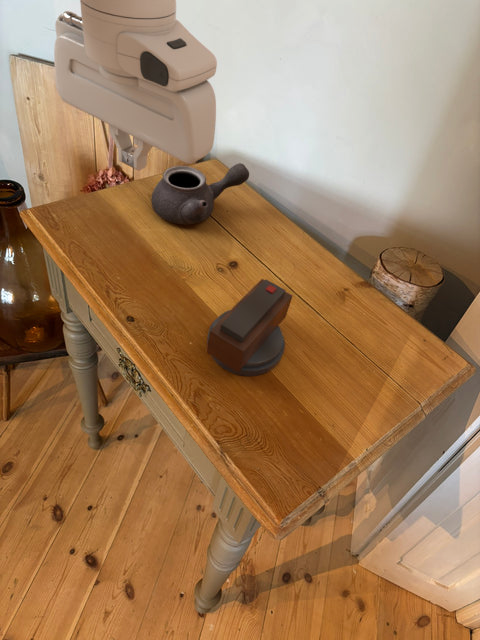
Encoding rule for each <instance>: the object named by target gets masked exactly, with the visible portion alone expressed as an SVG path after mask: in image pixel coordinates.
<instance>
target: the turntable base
mask: <svg viewBox="0 0 480 640" xmlns="http://www.w3.org/2000/svg"><path fill="white" fill-rule="evenodd" d="M215 321H216V319H214V320H213V322H212V323H211V325H210V326H209V329H208V333H207V339H206V344H207V345H206V346H208V340H209V334H210V330H211V329H212V328H213V325H214V322H215ZM282 335H283V344H282V348H281V351H280V353H279V354H278V356H277V357H276V358H275V359H274V360H273V361H271V362H270V363H268V364H265V365H262V366H258V367H245V366H243V367H242V369H241V370H240V371H239V372H236V371H235V370H233V369H232V368H230V367H229V366H227V365H225V364H224V363H222V362H221V361H219V360H218V359H216V358H214V357H213V356H211V358H212V359H213V361H214V362H215V363H216V364H217V365H218V366H219V367H220V368H222V369H223V370H225V371H227V372H229V373H232V374H235V375H239V376H242V377H243V376H244V377H256V376H261V375H264V374H267V373H269V372H271V371H273V370H274V369H275V368H276V367H277V366H278V365H279V363H280V362H281V360H282V358H283V356H284V352H285V347H286V346H285V345H286V343H285V337H284V334H283V333H282Z"/></svg>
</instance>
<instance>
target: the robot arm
mask: <svg viewBox="0 0 480 640" xmlns="http://www.w3.org/2000/svg"><path fill="white" fill-rule="evenodd" d="M79 3H80V15H81V16H79V15H78V14H76V13H75V12H72V11H69V10H65V11H64V12H63V13H61V14H60V15H59V16H58V17H57V19H56V20H55V23H54V25H55V35H56V39H55V42H54V50H53V52H54V53H53V57H54V58H53V59H54V61H53V62H54V63H53V64H54V78H55V88H56V91H57V94H58V95H59V96H60V99H61V100H62V102H64V103H65V104H68V105H69V106H71V107H73V108H75V109H77V110H79V111H81V112H83V113H85V114H88V115H89V116H92V117H94V118H95V119H97V120H100V121H101V122H103V123H105V124H107V125H108V129H109V130H108V131H109V134H110V137H111V138H112V140H113V142H114V145H115V146H116V148H117V150H118V151H117V152H118V153H117V154H118V161H119V162H120V163H122V164H124V165H126V166H128V167H130V168H132V169H134V170H136V171H138V172H140V171H142V170H144V169H145V168H147V165H148V154H149V152H150V151H151V150H152V148H153V147H154V148H155V149H157V150H159V151H161V152H163V153H165V154H167V155H169V156H172V157H173V158H175V159H177V160H179V161H181V162H183V163H185V164H188V165H191V164H194V163H195V162H197V161H199V160H201V159H203V158H204V157H205V156H206V155H208V154H209V153H210V152H211V151H212V150H213V147H214V144H215V143H214V142H215V134H216V123H217V122H216V121H217V120H216V119H217V100H216V94H215V93H216V92H215V90H214V87H213V86H212V84H211V83H210V81H208V80H210V79H211V78H213V77H214V76H215V75H216V72H217V68H218V67H217V66H218V62H217V61H218V60H217V58H216V56H215V54H214V53H213V52H212V51H211V50H210V49H208V48H207V47H206V46H205V45H204V44H203V43H202V42H201V41H199V40H198V38H196V37H195V36H194V35H193V34H192V33H191V32H190V31H189V30H188V29H187V28H186V27H185V26H184V25H183V24H182V23H181V22H180V21H179V20H178V19H177V0H79ZM131 136H132V137H133V142H132V140H131ZM133 144H134V145H133ZM136 146H137V147H136Z"/></svg>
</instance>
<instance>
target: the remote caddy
mask: <svg viewBox="0 0 480 640" xmlns="http://www.w3.org/2000/svg"><path fill="white" fill-rule="evenodd" d="M292 299H293V294H291V293H289V292H287V290H286V289H285V288H282V287H280V285H278V284H275V283H273V282H272V281H271V280H268V279H264V278H261V279H260V280H259V281H258V282H257V283H256V284H255V285H254V286H253V287H252V288H251V289H250V290H249V291H248V292H247V293H246V294H245V295H244V296H243V297H242V298H241V299H240V300H239V301H238V302H236V304H235V305H234V306H233V307H232V308H231V309H229V310H226V311H224V312H223V313H221V314H220V315H219V316H217V317H216V318H215V320H216V321H215V320H214V321H215V322H214V321H213V322H214V325H213V328H212V329H211V330H210V334H209V340H208V346H207V345H206V346H207V347H206V353H207V355H209V356H210V357H212V356H213V357H214V358H216V359H218V360H219V361H221V362H222V363H224V364H225V365H227V366H229V367H230V368H232V369H233V370H235V371H236V372H239V371H240V370H241V369H242V367H243V366H245V367H258V366H262V365H265V364H268V363H270V362H271V361H273V360H274V359H275V358H276V357H277V356H278V354H279V353H280V351H281V348H282V344H283V337H284V334H283V331H282V329H281V327H280V325H281V323H282V322H283V321H284V320H285V319H286V317H287V315H288V311H289V308H290V305H291V303H292ZM282 334H283V335H282Z"/></svg>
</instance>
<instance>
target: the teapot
mask: <svg viewBox="0 0 480 640" xmlns="http://www.w3.org/2000/svg"><path fill="white" fill-rule="evenodd" d="M249 178H250V171H249V169H248V168H247V167H246V166H245V164H244V163H241V162H239V163H235V164H234V165H233V166H231V167H230V168H229V169H228V170H227V172H226V174H225V175H224V177H222V179H221V180H219V181H215V182H213V183H210V184H207V177H206V175H205V174H204V173H203V172H202V171H201V170H199V169H196V168H195V167H192V166H187V165H176V166H171V167H169V168H167V169H165V171H163V173H162V178H161V179H160V180H159V181H158V183H156V185H155V186H154V189H153V191H152V192H151V193H152V194H151V198H150V202H151V207H152V210H153V211H154V212H155V214H156V215H157V216H159V217H160V218H161V219H163V220H165V221H166V222H170V223H173V224H177V225H178V224H179V225H194V224H199V223H202V222H203V221H205V220H207V219H208V218H209V217H210V216H211V215H212V213H213V212H214V208H215V207H214V206H215V205H214V204H215V200H216V199H217V198H219V196H220V195H221V194H222V193H224V191H225V190H226V189H229V188H231V187H237V186H241V185H243V184H244V183H245V182H246V181H248V179H249Z"/></svg>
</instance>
